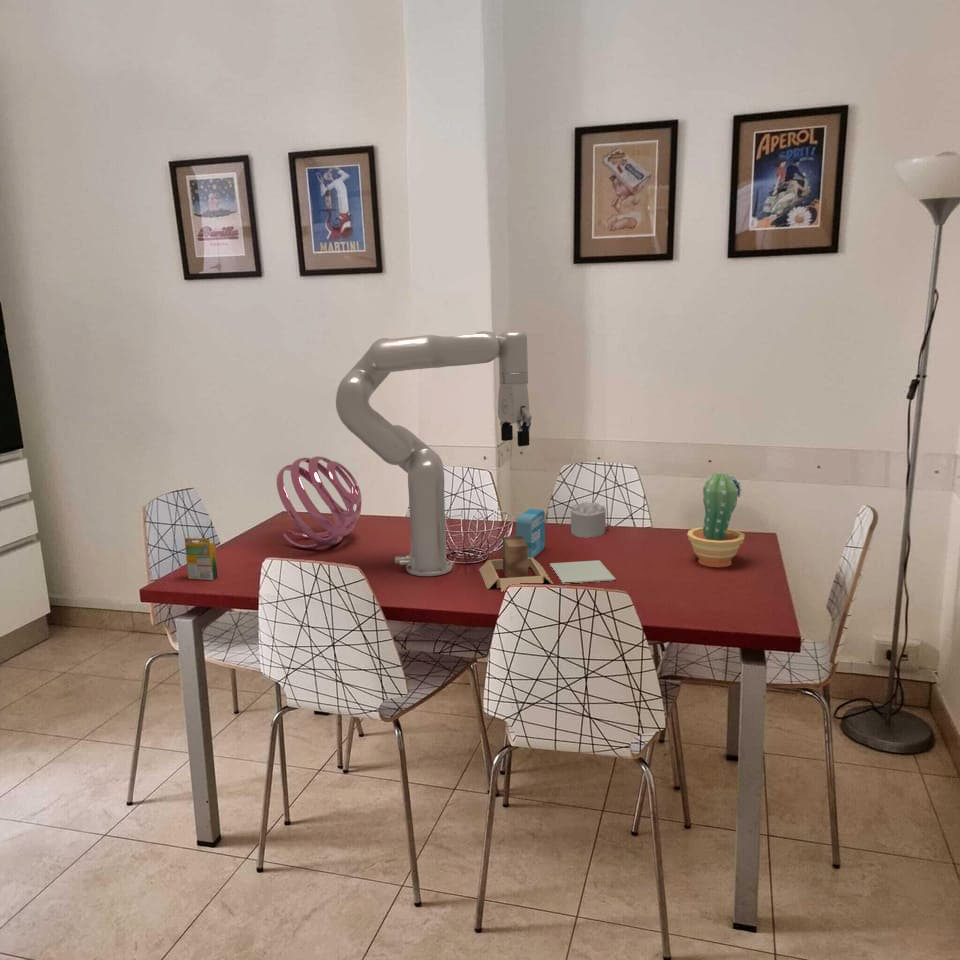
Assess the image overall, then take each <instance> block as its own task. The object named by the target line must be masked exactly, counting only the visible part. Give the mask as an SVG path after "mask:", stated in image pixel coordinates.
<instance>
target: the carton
mask: <svg viewBox="0 0 960 960" xmlns="http://www.w3.org/2000/svg"><path fill="white" fill-rule="evenodd" d="M529 566H531V567H529ZM528 568H532V569H533V571H534V572H535V574H536V575H537V576H536V575H535V574H534V576H528V577H515V578H506V577H503V578H502V577H501V578H500V577H499V575H498V573H497V571H496V570H503V558H498V559H497V558H495V559H489V560H488V559H487V560H486V562H485V563H484V564H483V565H482V566H481V567H480V568H479V569H478V570H479V572H480V575H481V578H482V580H483V582H484V585H485V587H486V589H487V590H488V589H489V590H490V589H491V588H492V586H494V584H495V583H496V584H495V587H496V588H497V589H498V588H501V589H500V593H506V592H505V590H506V588H507V587H508V586H509V585H512V584H520V583H544V584H545V580H546V581H548V583H550V584H551V585H552V584H554V582H553V581H552V579H551V578H550V576H549V575H548V573H547V571H546V570H545V569H544V567H543V565H542V566H541V563H540V562H538V561H537V560H536V559H535V557H534V558H533V557H532V558H530V557H528ZM532 569H531V570H532ZM533 571H532V572H533ZM534 572H533V573H534ZM546 573H547V574H546ZM548 576H549V577H548ZM550 579H551V580H550ZM503 591H504V592H503Z"/></svg>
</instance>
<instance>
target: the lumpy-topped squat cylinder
mask: <svg viewBox="0 0 960 960" xmlns="http://www.w3.org/2000/svg"><path fill="white" fill-rule="evenodd" d="M606 510H607V509H606V507H605V506H604V505H602V504H599V503H598V502H587V501H584V502H581V503H578V504H577V503H575V504H573V505H572V506H571V510H570V512H571V513H570V523H571V524H570V533H571V534H572V535H573V536H574V537H578V538H582V537H583V538H585V539H588V538H589V539H590V537H592V538H597V537H600V536H603V535H605V533H606V525H607V524H606V517H607V516H606V515H607V514H606V512H607V511H606Z"/></svg>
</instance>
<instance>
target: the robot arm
mask: <svg viewBox="0 0 960 960" xmlns="http://www.w3.org/2000/svg"><path fill="white" fill-rule="evenodd" d="M497 358H498V371H499V372H498V373H499V375H498V376H499V377H498V379H499V387H498V399H497V400H498V402H497V406H498V407H497V417H498V419H499V420H500V422H499V425H500V436H501V437H500V438H501V439H500V440H501V441H503V442H506V441H507V442H509V441H512V440H513V439H514V436H513V433H514V432H513V424H516V426H517V428H518V430H517V431H516V433H517V436H516V437H517V447H525V446H526V447H527V446H528V447H529V446H530V430H531V425H532V423H531V421H532V414H531V413H530V400H529V391H528V385H529V369H528V368H529V367H528V366H529V364H528V363H529V362H528V335H527V334H526V332H524V331H521V330H509V331H501V332H499V331H498V332H496V331H485V330H482V331H477V332H475V333H474V334H467V335H455V336H453V335H451V336H442V335H433V334H428V335H427V334H426V335H424V334H423V335H417V336H415V335H414V336H407V337H398V338H397V337H396V338H388V337H387V338H386V337H384V338H383V337H382V338H379V339H377V340H376V341H374V342H373V343H372V344H371V345H370V347H369V349H368V350H366V353H364V355H363V356H361V358H360V359H359V360H358V362H357V363H356V364H354V366H353V367H352V368H351V369H350V370H349V371H348V372H347V374H345V376H344V377H343V378H342V379H341V381H340V383H339V384H338V386H337V387H338V388H337V391H336V395H335V396H336V397H335V409H336V412H337V415H338V417H339V419H340V421H341V423H342V424H343V426H345V428H346V429H348V430H349V432H350V433H352V434H353V435H354V436H356V438H358V439H359V440H360V441H361V442H362V443H363V444H364V445H365V446H367V448H369V449H370V450H371V451H373V452H374V453H375V454H376V455H377V456H378V457H379V458H381V460H383V462H385V463H387V464H389V465H393V466H398V467H400V468H401V469H402V470H403V471H404V472H406V473H407V487H408V503H409V506H408V507H409V510H408V511H409V525H410V526H409V527H410V529H409V530H410V549H411V551H409V554H406V555H404V556H400V555H399V556H394V563H395V564H399V566H405V565H406V566H405V567H406V569H405V571H406V572H407V573H408V574H410V575H413V576H418V577H435V576H442V575H445V574H448V573H450V572H451V571H452V570H453V563H452V562H451V561H449V560H447V537H446V536H447V533H446V532H447V531H446V511H445V510H446V509H445V471H444V470H445V469H444V463H443V461H442V459H441V457H440V455H439V454H437V452H435V450H433V449H432V448H431V447H430V446H428V445H427V444H426V443H424V441H422V440H421V439H420V438H419V437H418V436H417V435H416V434H414V433H413V432H412V431H411V430H409V429H408V428H406V427H404V426H401V425H399V424H398V425H397V424H392V423H391V422H389V420H387V419H386V418H385V417H384V416H382V414H380V412H378V411H376V410H375V409H374V408H373V407H372V406H371V405H370V402H369V401H370V398H371V397H372V395H373V394H374V392H375V391H376V390H377V388H379V386H380V385H381V384H382V383H383V382H384V380H385V379H386V378H387V377H388V376H389V374H391V373H395V372H403V371H413V370H425V369H439V368H446V367H456V366H457V367H458V366H459V367H460V366H470V365H478V364H479V365H481V364H487V363H491V362H492V361H494V360H495V359H497Z"/></svg>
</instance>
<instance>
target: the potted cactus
mask: <svg viewBox="0 0 960 960" xmlns="http://www.w3.org/2000/svg"><path fill="white" fill-rule="evenodd" d="M742 491H743V490H742V485H741V483H740V481H739V479H737V478H736V477H735V476H732V475H730V474H729V473H728V472H726V473H723V472H721V471H719V472H717V473H716V472H713V473H712V474H711V475H710V477H709V478H707V480H706V481H705V483H704V485H703V487H702V494H703V495H702V496H703V497H702V498H703V506H704V511H705V512H704V517H703V518H704V520H703V526H702V527H695V528H692V529H689V530H688V531H687V533H686V536H687V540H688V541H690V543H691V546H692V549H693V552H694V553H695V554H696V556H697V557H698V561H697V562H698V564H700V565H702V566H706V567H709V568H724V567H725V568H726V567H728V566H732V560H733V558H734V557H735V556H737V555H736V554H737V553H738V550H739V549H740V546H741V545H742V544H743V543H744V539H745V537H746V536H745V533H743V532H741V531H739V530H737V529H733V528H729V525H730V521H731V518H732V514H733V513H734V511H735V508H736V506H737V505H738V503H737V502H738V498H740V497H741V492H742Z"/></svg>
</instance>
